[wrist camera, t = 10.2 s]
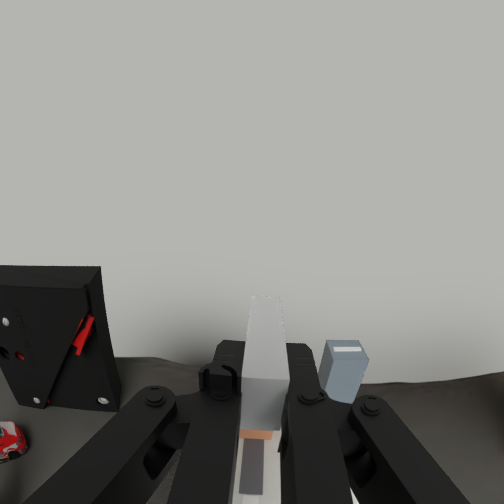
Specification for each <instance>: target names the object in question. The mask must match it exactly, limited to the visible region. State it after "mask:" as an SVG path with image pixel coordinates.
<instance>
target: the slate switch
mask: <svg viewBox="0 0 504 504" xmlns="http://www.w3.org/2000/svg"><path fill="white" fill-rule="evenodd" d="M368 362H369V359H368V357H367V355H366V353H365V351H364V349H363V348H362V346H361V344H360V342H359V341H358V340H326V344H325V348H324V353H323V356H322V360H321V364H320V368H319V372H318V378H319V382H320V386H321V388H322V389H323V390H324V391H326V392H327V394H328V396H329V398H331V399H333V400H336V401H339V402H345V403H351V404H352V403H353V401H354V399H355V396H356V394H357V391H358V389H359V386H360V384H361V381H362V378H363V376H364V373H365V370H366V367H367V365H368Z"/></svg>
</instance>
